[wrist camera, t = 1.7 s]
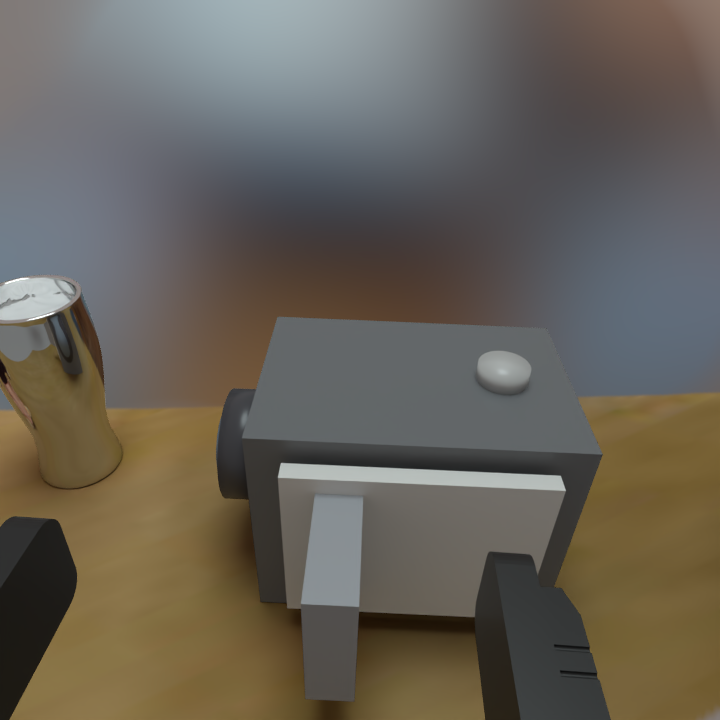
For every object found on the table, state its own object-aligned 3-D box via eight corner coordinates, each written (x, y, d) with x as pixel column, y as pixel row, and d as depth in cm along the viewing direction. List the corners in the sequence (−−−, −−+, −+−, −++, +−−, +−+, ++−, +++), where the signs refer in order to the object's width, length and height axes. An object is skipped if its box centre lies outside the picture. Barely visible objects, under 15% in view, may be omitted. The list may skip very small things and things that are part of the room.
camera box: (509, 476, 47) (549, 315, 38) (544, 618, 37) (609, 442, 28) (252, 464, 47) (234, 301, 38) (216, 602, 37) (181, 423, 28)
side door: (519, 604, 35) (560, 475, 29) (546, 730, 29) (604, 604, 23) (289, 593, 35) (280, 462, 29) (270, 716, 29) (255, 587, 23)
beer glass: (138, 472, 46) (95, 306, 37) (42, 507, 43) (-30, 335, 34) (116, 422, 51) (73, 265, 42) (28, 450, 47) (-38, 287, 39)
